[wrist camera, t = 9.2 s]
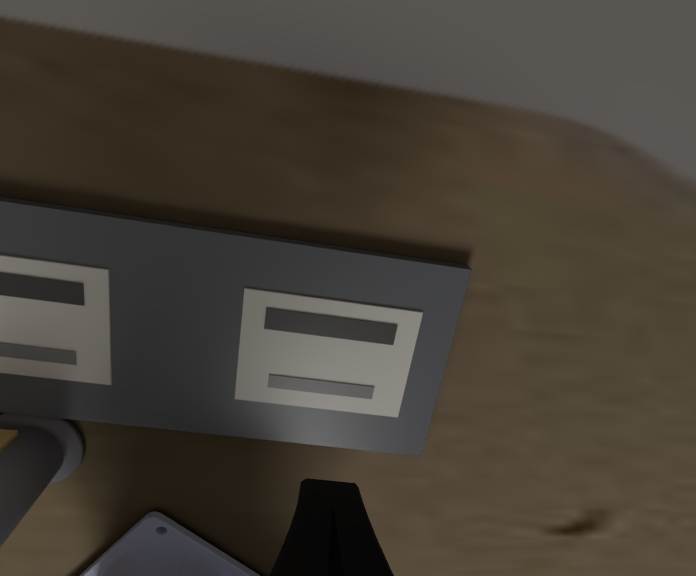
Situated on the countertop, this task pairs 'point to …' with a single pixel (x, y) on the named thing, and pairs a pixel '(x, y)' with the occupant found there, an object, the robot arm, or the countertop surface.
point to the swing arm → (24, 472)
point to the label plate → (216, 332)
